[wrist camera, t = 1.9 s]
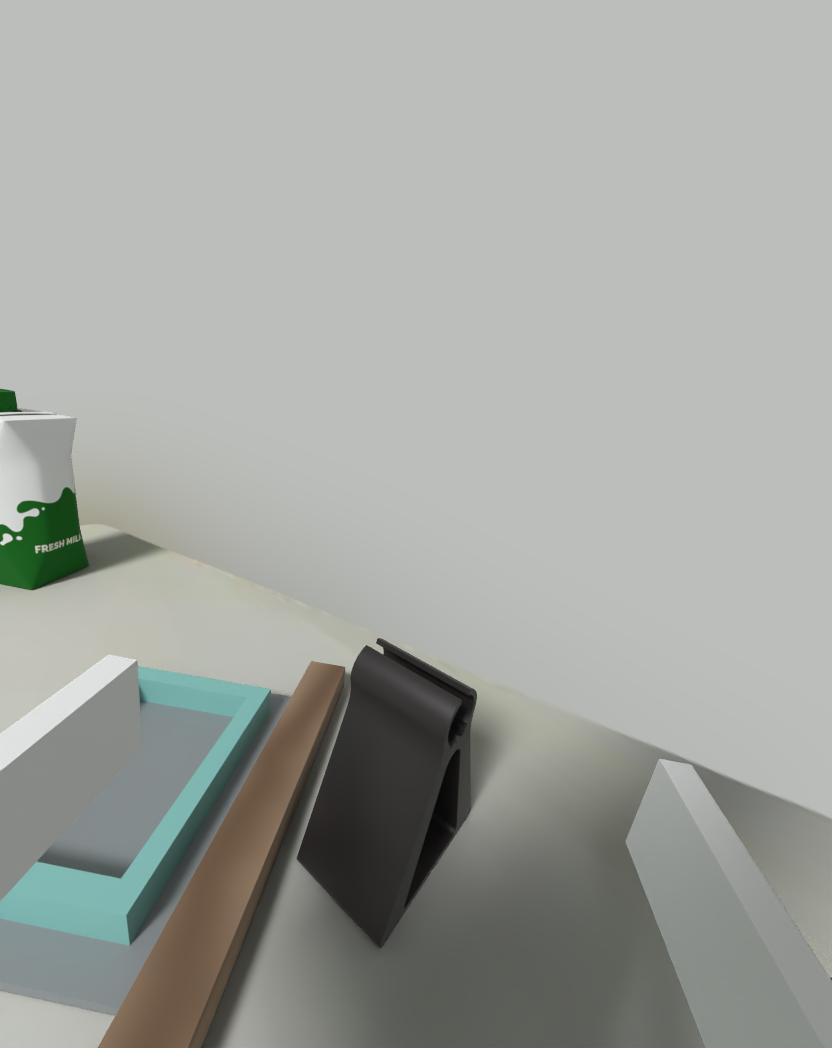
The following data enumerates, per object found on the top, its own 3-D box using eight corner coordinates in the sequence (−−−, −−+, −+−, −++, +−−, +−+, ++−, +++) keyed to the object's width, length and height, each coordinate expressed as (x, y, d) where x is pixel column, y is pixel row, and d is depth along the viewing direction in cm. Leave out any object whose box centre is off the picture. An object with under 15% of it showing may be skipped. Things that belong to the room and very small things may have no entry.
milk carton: (37, 552, 53) (12, 387, 47) (103, 564, 52) (86, 398, 46) (-45, 581, 44) (-89, 384, 38) (32, 596, 43) (-1, 397, 37)
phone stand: (397, 760, 30) (419, 613, 26) (470, 814, 27) (506, 655, 23) (295, 862, 23) (306, 679, 19) (378, 952, 20) (409, 753, 16)
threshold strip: (343, 686, 36) (345, 666, 36) (153, 1170, 14) (149, 1138, 13) (310, 680, 37) (311, 661, 36) (67, 1148, 14) (59, 1117, 13)
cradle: (291, 703, 34) (292, 676, 33) (122, 1017, 17) (116, 976, 16) (139, 676, 34) (137, 649, 34) (-176, 951, 17) (-195, 909, 16)
